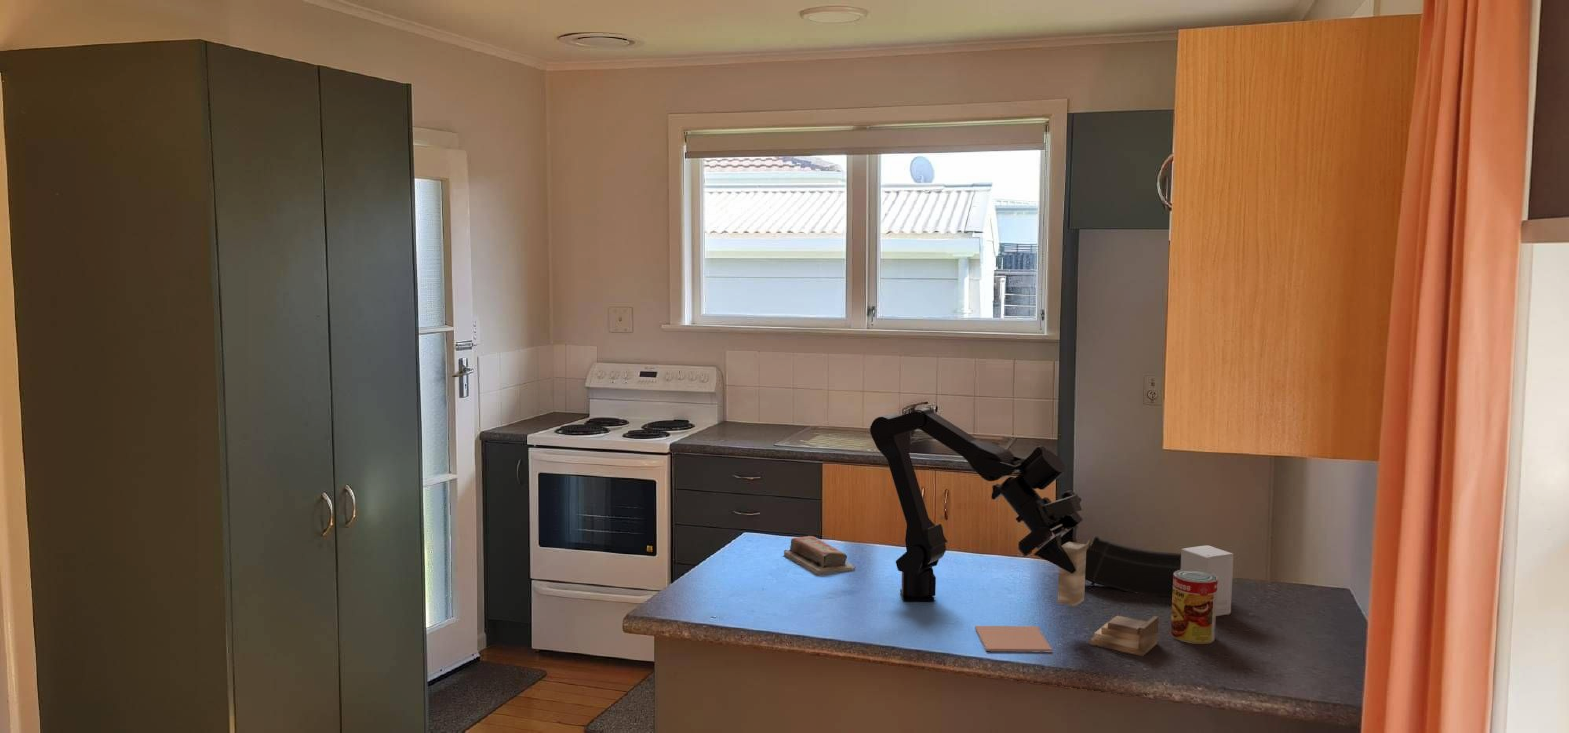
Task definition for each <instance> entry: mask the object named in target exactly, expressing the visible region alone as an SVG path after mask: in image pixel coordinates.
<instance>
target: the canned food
mask: <svg viewBox="0 0 1569 733" xmlns="http://www.w3.org/2000/svg"><path fill="white" fill-rule="evenodd" d="M1217 584H1218V578H1217V576H1216V575H1214V574H1212V573H1209V572H1205V571H1200V570H1189V569H1185V570H1178V571H1175V572H1174V576H1173V596H1172V597H1171V598H1172V600H1171V616H1170V617H1171V618H1170V619H1171V620H1170V635H1171V637H1172V638H1173V639H1176V640H1177V641H1179V642H1185V643H1189V644H1198V645H1203V644H1211V643H1213V642H1215V636H1216V634H1215V633H1216V620H1217V619H1216V617H1217V616H1216V602H1217Z"/></svg>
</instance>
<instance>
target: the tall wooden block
mask: <svg viewBox="0 0 1569 733" xmlns="http://www.w3.org/2000/svg"><path fill="white" fill-rule="evenodd" d="M1086 544H1087V543H1079V542H1077V543H1075V542H1067V543H1065V544H1063V545H1062V547H1063V549H1064V551H1065V552H1066V554H1067V555H1068V557H1069V558H1070V560H1071V562H1072V563H1073V565H1074V567H1075V568H1076V571H1075V572H1074V573H1070V572H1068V571H1066V570H1064V569H1062V568H1060V567H1059V566H1058V582H1057V583H1058V584H1057V585H1058V586H1057V603H1059V604H1064V605H1068V606H1073V607H1076V606H1077V605H1079V604H1081V603H1082V602H1084V601H1085V589H1086V587H1085V585H1086V584H1085V582H1086V580H1085V568H1086Z"/></svg>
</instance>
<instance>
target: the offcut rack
mask: <svg viewBox="0 0 1569 733" xmlns="http://www.w3.org/2000/svg"><path fill="white" fill-rule="evenodd" d="M1158 630H1159V616H1156V615H1153V616H1152V617H1151V618H1150V619H1148V620H1147V621H1145V620H1140V619H1136V618H1130V617H1127V616H1126V617H1125V616H1122V615H1116V616H1114V617H1113V618H1111V619H1110V620H1108V621H1107V622H1105V624H1104V625H1102V626H1101V627H1099V629H1097V631H1095V632H1094V633H1093V637H1091V638H1090V639H1089V645H1092V646H1096V645H1097V647H1101V648H1104V649H1105V648H1106V649H1110V650H1115V651H1119V652H1122V653H1127V654H1131V655H1136V656H1139V657H1144V656H1145V655H1146V654H1147V653H1149V651H1150V650H1152V649H1153V648H1154V647H1155V646H1156V645H1157V644H1158V632H1159V631H1158Z"/></svg>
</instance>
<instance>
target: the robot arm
mask: <svg viewBox="0 0 1569 733" xmlns="http://www.w3.org/2000/svg"><path fill="white" fill-rule="evenodd" d="M916 430H920V431H921V432H923V433H925V434H926V435H928V436H929V437H931V438H932V439H934V440H936V441H937V442H939V443H940V444H942V445H944V446H945V447H946V448H949V449H950V450H951V451H953V452H955V453H956V454H958V455H959V456H961V457H962V458H964V460H966V461H967V463H968V465H969V467H971V469H972V470H973V471H974V472H976V474H977V475H979V476H980V477H981V478H982V479H983V480H985V481H988V482H996V481H999V480H1001V479H1003V478H1006V479H1004V481H1002V483H996V484H993V485H992V486H991V487H992V492H991V499H992V500H996V499H999V498H1001V497H1003V498H1004V500H1005V501H1006V503H1007V504H1008V505H1009V506H1010V507H1011V509H1012V510H1013V511H1014V512H1015V514H1017V515H1016V516H1017V517H1015V520H1016V521H1017V523H1021V522H1022V523H1023V524H1024V525H1025V526H1026V528H1027V529H1028V530H1029V531H1030V532H1029V533H1028V534H1027V535H1025V536H1024V537H1023V538H1021V539H1020V541H1019V542H1018V544H1017V545H1018V547H1017V549H1018V551H1019V552H1020V553H1021V555H1022V556H1023V557H1024V558H1026V557H1027V556H1030V555H1031V554H1032V553H1033V551H1034V550H1035V549H1037V551H1036V552H1034V553H1033V556H1035V557H1039V558H1041V559H1043V560H1045V561H1046V562H1047V561H1048V562H1049V563H1051V564H1053V565H1055V566H1057V567H1058V568H1059V567H1060V568H1062V569H1064V570H1066V571H1068V572H1070V573H1074V572H1075V571H1076V568H1075V567H1074V565H1073V563H1072V562H1071V560H1070V558H1069V557H1068V555H1067V554H1066V552H1065V551H1064V549H1063V547H1062V545H1063V544H1065V543H1067V542H1075V543H1078V540H1077V530H1078V528H1079V526H1078V525H1079V524H1080V523H1081V522H1083V521H1084V519H1083V518H1082V517H1081V516H1080V514H1079V513H1078V512H1079V511H1083V509H1082V506H1081V504H1080V503H1081V502H1082V498H1081V497H1080V496H1079V495H1078V493H1075V492H1074V490H1067V491H1065V492H1062V493H1061V498H1060V499H1057V500H1054V501H1051V499H1050V498H1049V497H1045V496H1044V497H1043V498H1042V496H1041V495H1040V493H1038V491H1036V489H1039V490H1040V491H1041V490H1045V489H1046V488H1047V487H1049V486H1050V485H1051V484H1053V483H1054V481H1056V480H1057V479H1058V478H1059V477H1060V476H1062V474H1064V473H1066V467H1065V464H1064V462H1063V460H1062V459H1061V458H1060V457H1059V455H1057V454H1055V453H1053V451H1051V450H1049V449H1046V447H1045V446H1044V445H1039V446H1038V447H1036V448H1034V449H1033V451H1032V452H1031V454H1030V455H1029V456H1027V457H1026V458H1024V457H1023V458H1022V457H1020V456H1016V455H1014V454H1013V453H1012V451H1010V450H1008V449H1007V448H1005V447H1002V446H1000V445H997V444H994V443H990V442H986V441H982V440H980V439H977V438H976V437H974V436H973V435H972V434H969V433H968V432H966V431H965V430H963V429H961V428H960V427H958V426H957V425H955V424H954V423H952V422H950V421H949V420H947V419H946V418H944V417H942V416H940V415H939V414H937V413H936V412H935V411H934V409H932V408H929V407H923V408H918V409H914V410H913V411H912V412H908V413H906V414H905V413H904V414H900V413H896V412H895V413H891V414H887V415H882V416H878V417H876V418H874V419H873V421H872V422H871V424H870V426H869V432H870V433H869V434H870V436H871V438H872V441H873V443H874V444H875V446H876V448H877V450H878V451H879V453H880V454H882V456H883V457H884V458H885V459H886V460H887V464H888V467H889V470H890V474H891V477H892V481H893V484H894V486H895V487H894V488H895V489H896V493H897V496H898V500H899V503H900V507H901V510H902V514H903V516H904V521H905V523H906V527H905V528H906V530H905V536H904V543H905V544H904V545H905V552H904V553H903V554H902V555H901V556H899V557H898V558H897V559H896V560H895V564H896V569H897V571H898V572H901V588H900V590H899V593H900V595H901V598H902V601H904V602H934V601H935V596H936V588H937V586H936V583H937V577H936V575H935V573H934V569H933V567H936V566H937V565H938V563H939V560H940V559H942V558H943V557H944V555H945V552H947V546H946V543H948V540H947V539H946V537H945V535H944V529H943V525H942V524H941V523H938V524H936V525H935V523H934V522H933V521H932V520H931V519H930V517H929V515H928V512H927V511H928V510H927V507H926V505H925V501H924V498H923V495H922V492H921V488H920V484H919V482H918V478H917V474H916V472H915V468H914V465H913V462H912V458H911V455H910V448H911V447H910V446H911V442H912V441H911V440H912V436H911V432H912V431H916ZM1018 472H1020V473H1019V474H1017V473H1018ZM1012 474H1017V476H1015V477H1014V476H1010V475H1012Z"/></svg>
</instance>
